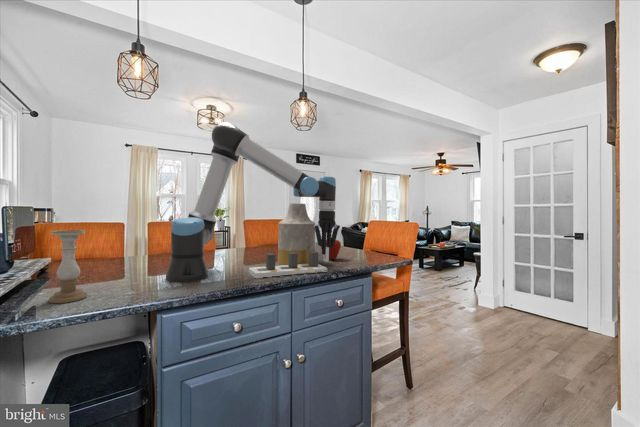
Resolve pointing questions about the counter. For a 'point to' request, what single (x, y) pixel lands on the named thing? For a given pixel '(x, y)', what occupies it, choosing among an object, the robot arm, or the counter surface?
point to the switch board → (284, 270)
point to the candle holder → (68, 269)
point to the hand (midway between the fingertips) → (326, 261)
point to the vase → (296, 235)
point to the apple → (334, 249)
